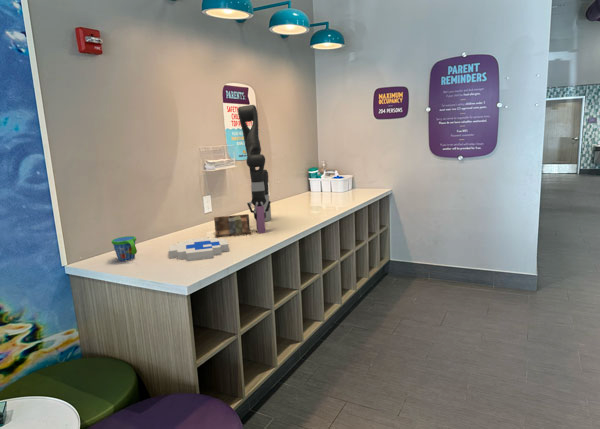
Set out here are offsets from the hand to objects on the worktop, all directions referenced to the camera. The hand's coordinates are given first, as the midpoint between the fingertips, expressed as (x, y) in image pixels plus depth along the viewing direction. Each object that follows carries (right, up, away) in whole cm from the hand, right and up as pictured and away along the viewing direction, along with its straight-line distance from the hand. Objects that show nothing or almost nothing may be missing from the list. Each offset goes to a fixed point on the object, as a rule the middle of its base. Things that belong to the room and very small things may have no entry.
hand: (260, 219), depth 243 cm
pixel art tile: (-27, -16, -36) cm, 47 cm away
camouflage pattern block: (-15, -8, -1) cm, 18 cm away
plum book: (0, -7, +1) cm, 7 cm away
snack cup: (-60, -19, -42) cm, 76 cm away
